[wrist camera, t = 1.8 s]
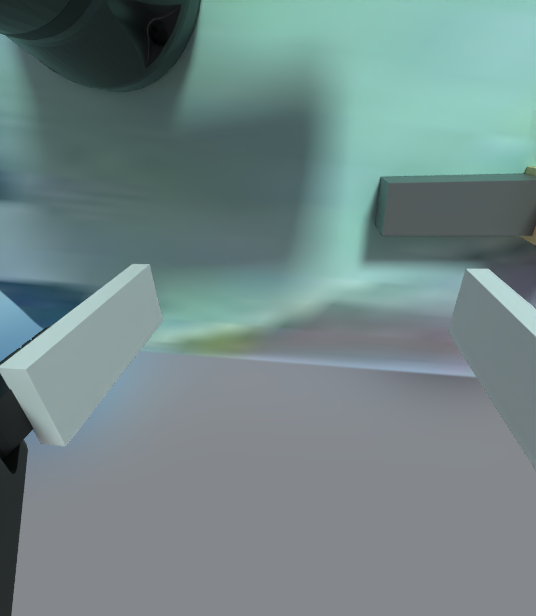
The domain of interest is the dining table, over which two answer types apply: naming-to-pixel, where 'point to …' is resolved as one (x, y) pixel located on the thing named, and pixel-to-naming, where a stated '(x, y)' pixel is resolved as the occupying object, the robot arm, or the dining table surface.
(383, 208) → the plug
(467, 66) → the dining table surface
